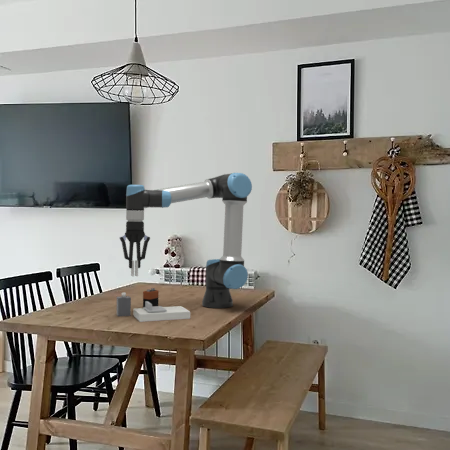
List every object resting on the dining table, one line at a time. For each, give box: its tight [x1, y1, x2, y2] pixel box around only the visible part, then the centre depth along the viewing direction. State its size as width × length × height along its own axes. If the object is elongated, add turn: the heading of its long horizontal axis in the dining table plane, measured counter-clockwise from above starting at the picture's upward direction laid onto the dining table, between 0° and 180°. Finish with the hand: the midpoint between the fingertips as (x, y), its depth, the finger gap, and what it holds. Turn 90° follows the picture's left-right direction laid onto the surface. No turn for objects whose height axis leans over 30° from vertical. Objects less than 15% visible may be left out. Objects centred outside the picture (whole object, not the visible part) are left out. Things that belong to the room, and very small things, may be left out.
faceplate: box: [132, 305, 191, 323], centre depth 226 cm, size 22×14×3 cm, turn 111°
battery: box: [142, 287, 159, 308], centre depth 242 cm, size 4×7×10 cm, turn 151°
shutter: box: [142, 301, 167, 312], centre depth 225 cm, size 8×10×3 cm
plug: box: [116, 292, 132, 317], centre depth 229 cm, size 6×4×10 cm
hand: (134, 275), depth 222 cm, fingers closed
